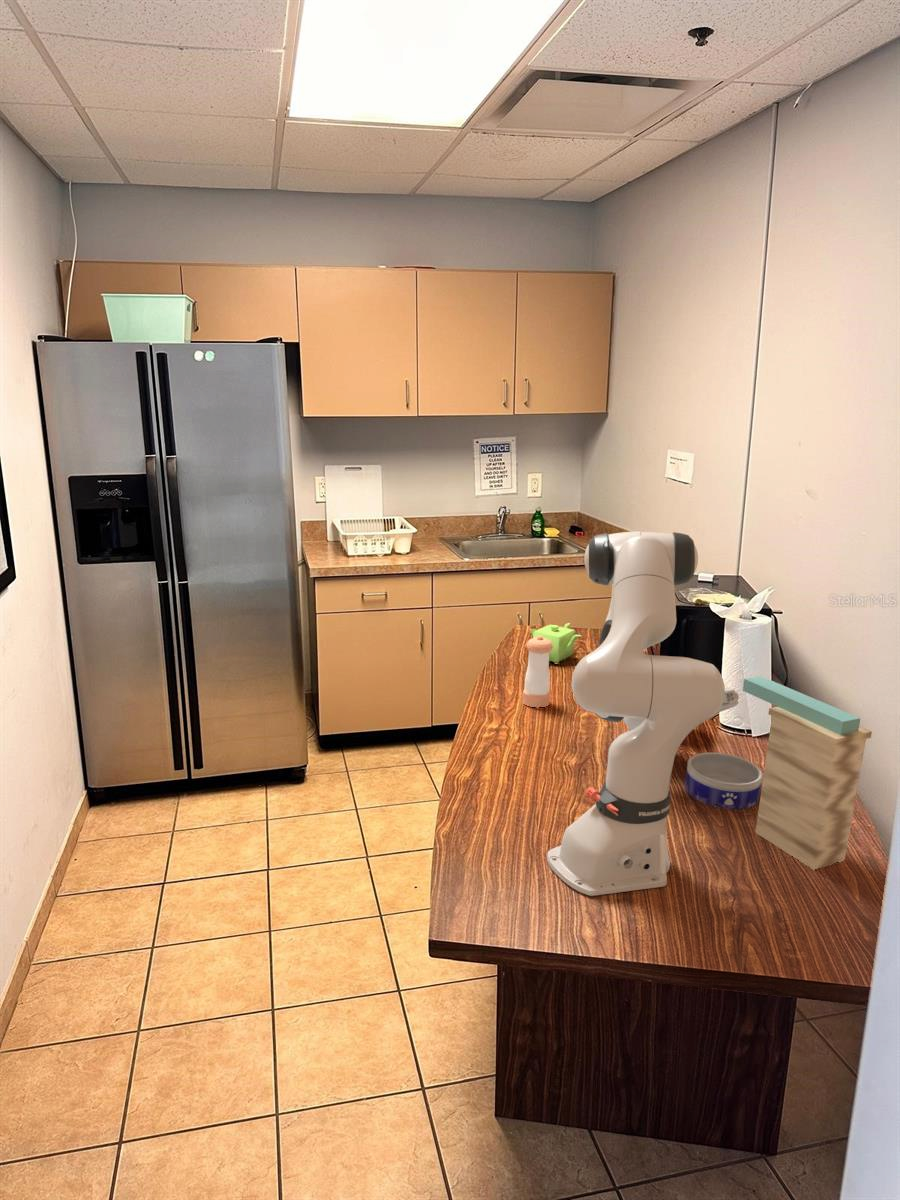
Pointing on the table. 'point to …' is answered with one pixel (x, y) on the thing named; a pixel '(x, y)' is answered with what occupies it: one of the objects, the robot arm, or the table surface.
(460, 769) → the table surface
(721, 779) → the dog bowl
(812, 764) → the beige block
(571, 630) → the kettle
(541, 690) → the salt shaker
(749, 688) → the slat
